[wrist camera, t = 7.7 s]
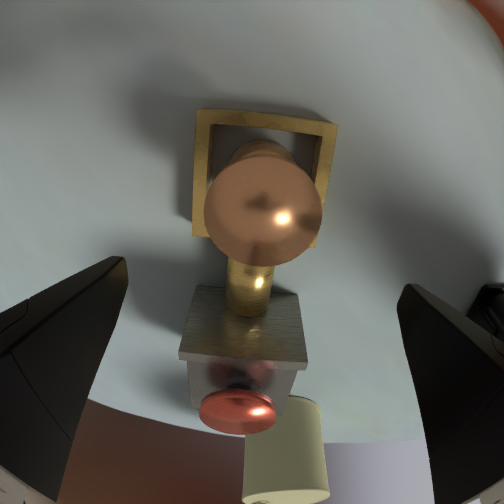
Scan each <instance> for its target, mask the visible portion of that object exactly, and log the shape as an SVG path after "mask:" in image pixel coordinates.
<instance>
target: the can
mask: <svg viewBox="0 0 504 504" xmlns="http://www.w3.org/2000/svg"><path fill="white" fill-rule="evenodd" d="M320 414H321V411H320V408H319V406H318V405H317V404H316V403H315V402H313V401H311V400H309V399H306V398H302V397H296V396H289V397H288V399H287V402H286V405H285V408H284V410H283V413H282V416H277V415H276V421H275V423H274V425H273V426H271V427H270V428H269V429H267V430H265V431H262V432H259V433H254V434H246V435H245V462H244V481H243V496H242V501H243V502H244V503H246V504H313V503H317V502H320V501H322V500H325V499H326V498H328V497H329V496H330V492H329V487H328V480H327V471H326V464H325V455H324V446H323V438H322V430H321V420H320Z"/></svg>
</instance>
